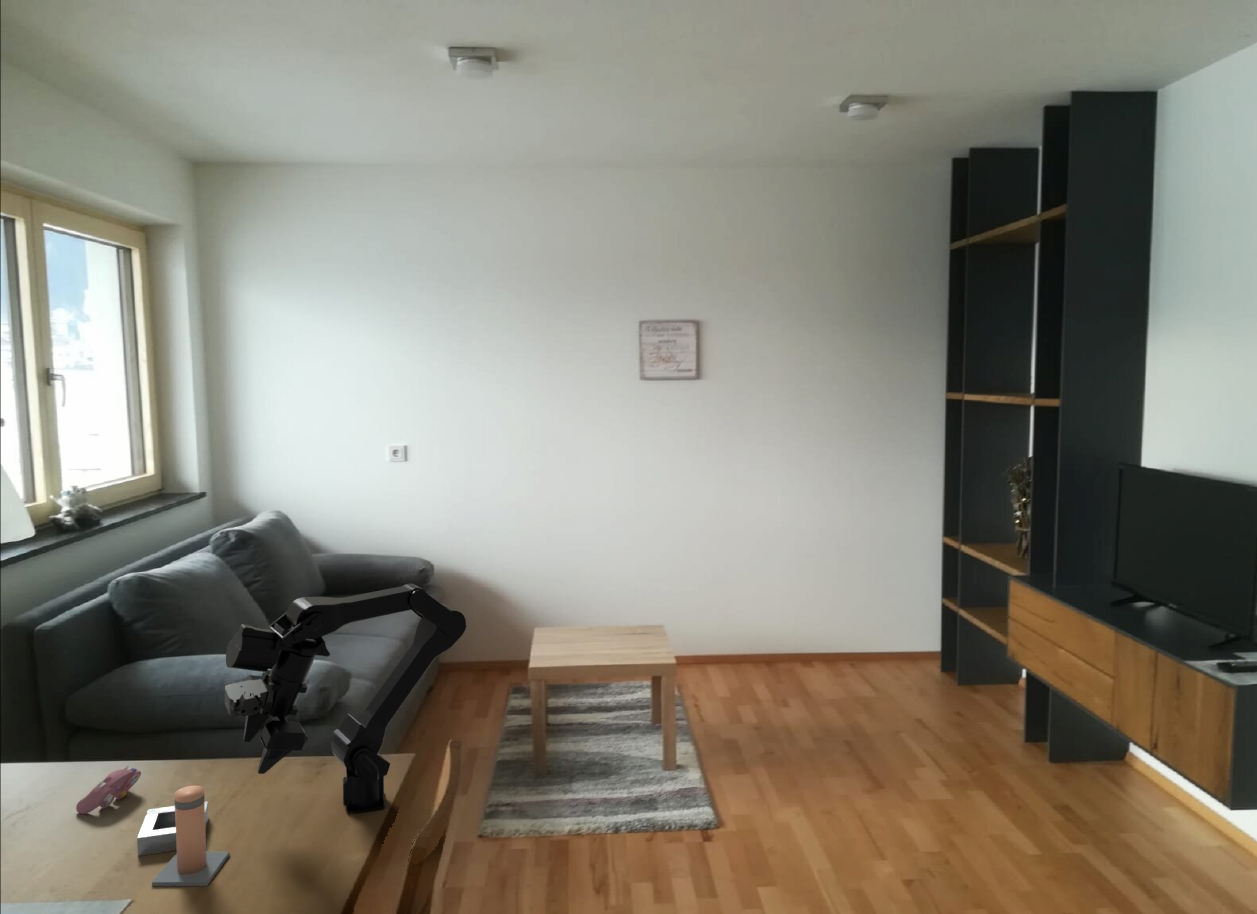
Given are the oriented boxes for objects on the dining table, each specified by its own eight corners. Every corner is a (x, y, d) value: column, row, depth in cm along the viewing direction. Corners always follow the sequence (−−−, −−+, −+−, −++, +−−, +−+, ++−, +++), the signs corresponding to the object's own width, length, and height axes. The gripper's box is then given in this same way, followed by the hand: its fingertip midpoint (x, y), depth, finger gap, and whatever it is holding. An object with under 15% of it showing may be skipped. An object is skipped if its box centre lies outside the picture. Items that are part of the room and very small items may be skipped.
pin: (208, 856, 135) (205, 783, 133) (204, 871, 131) (202, 796, 129) (179, 861, 133) (176, 787, 132) (175, 876, 129) (172, 800, 128)
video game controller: (92, 826, 146) (106, 793, 145) (71, 811, 147) (85, 779, 146) (136, 797, 156) (149, 766, 155) (116, 784, 157) (129, 753, 155)
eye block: (208, 818, 147) (207, 801, 146) (201, 846, 138) (200, 828, 138) (148, 826, 144) (148, 809, 143) (137, 856, 135) (137, 838, 135)
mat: (177, 854, 136) (177, 851, 136) (229, 854, 136) (229, 851, 136) (151, 885, 128) (151, 882, 128) (206, 885, 128) (206, 882, 128)
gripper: (226, 640, 144) (191, 723, 145) (255, 699, 130) (217, 790, 131) (290, 648, 151) (257, 727, 153) (324, 704, 138) (287, 791, 139)
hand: (253, 756), depth 144 cm, fingers open, 9 cm apart
